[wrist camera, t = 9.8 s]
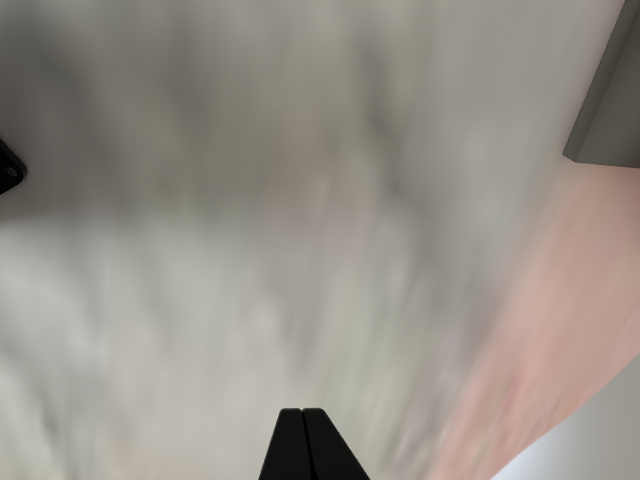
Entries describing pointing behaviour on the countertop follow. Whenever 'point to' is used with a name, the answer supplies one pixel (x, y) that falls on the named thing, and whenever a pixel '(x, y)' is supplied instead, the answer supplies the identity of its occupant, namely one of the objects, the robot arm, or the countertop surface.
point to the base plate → (612, 101)
